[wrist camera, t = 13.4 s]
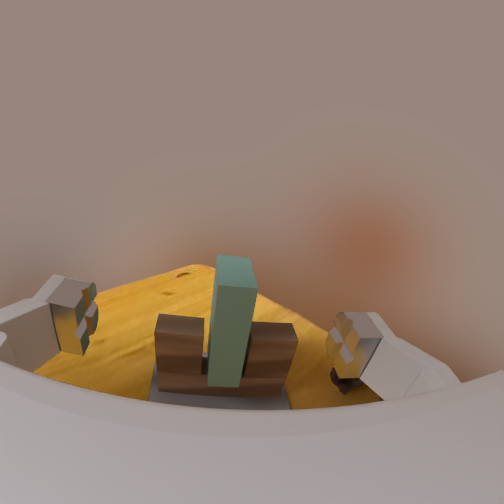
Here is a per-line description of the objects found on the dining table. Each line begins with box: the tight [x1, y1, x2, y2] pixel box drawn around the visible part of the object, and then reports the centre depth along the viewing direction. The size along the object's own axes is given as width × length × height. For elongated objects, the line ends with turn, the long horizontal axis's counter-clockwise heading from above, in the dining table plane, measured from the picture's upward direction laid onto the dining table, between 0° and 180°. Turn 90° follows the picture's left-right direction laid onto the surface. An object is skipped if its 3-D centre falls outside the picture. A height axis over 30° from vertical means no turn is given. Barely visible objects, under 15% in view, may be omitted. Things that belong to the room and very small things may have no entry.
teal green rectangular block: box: [208, 255, 258, 387], centre depth 28 cm, size 6×3×12 cm, turn 7°
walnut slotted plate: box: [148, 314, 298, 410], centre depth 30 cm, size 12×16×10 cm
